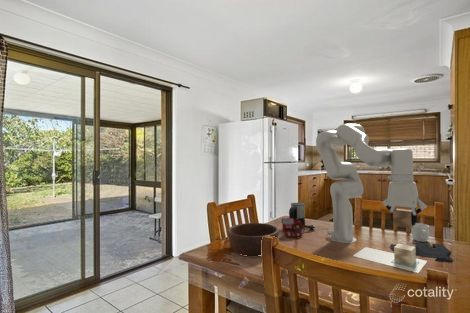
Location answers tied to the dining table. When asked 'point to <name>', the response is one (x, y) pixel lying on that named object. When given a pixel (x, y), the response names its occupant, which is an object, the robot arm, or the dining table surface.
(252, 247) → the wooden bowl
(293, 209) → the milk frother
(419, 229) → the cup
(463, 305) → the dining table surface
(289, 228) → the toy fire truck
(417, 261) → the build plate
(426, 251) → the dark slate chunk
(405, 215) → the walnut block
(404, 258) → the birch block
